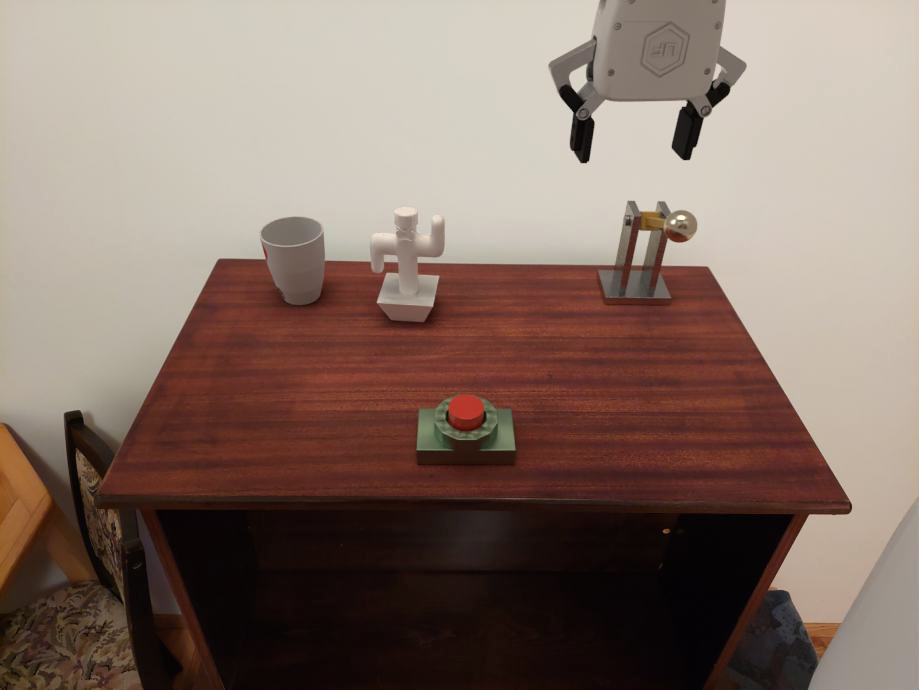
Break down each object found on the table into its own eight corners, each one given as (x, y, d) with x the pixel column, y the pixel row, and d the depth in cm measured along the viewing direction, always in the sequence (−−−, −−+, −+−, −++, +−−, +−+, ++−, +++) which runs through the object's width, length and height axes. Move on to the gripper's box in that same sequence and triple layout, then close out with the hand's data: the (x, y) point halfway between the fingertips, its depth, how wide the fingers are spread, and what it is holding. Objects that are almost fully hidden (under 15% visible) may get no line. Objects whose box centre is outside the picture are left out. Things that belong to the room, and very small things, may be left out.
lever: (700, 244, 71) (704, 210, 70) (667, 243, 71) (670, 210, 70) (656, 234, 86) (658, 206, 86) (629, 233, 86) (631, 206, 86)
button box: (510, 421, 71) (512, 394, 68) (514, 466, 66) (517, 439, 63) (419, 420, 71) (418, 394, 68) (416, 466, 66) (415, 439, 63)
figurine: (380, 294, 90) (372, 194, 80) (447, 298, 89) (447, 198, 80) (370, 325, 84) (360, 222, 75) (441, 330, 84) (441, 226, 74)
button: (482, 406, 67) (483, 394, 66) (484, 431, 65) (484, 419, 64) (448, 406, 67) (448, 394, 66) (448, 431, 65) (448, 419, 63)
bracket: (669, 305, 89) (691, 221, 81) (604, 304, 89) (620, 220, 81) (657, 277, 94) (677, 196, 86) (596, 276, 94) (610, 195, 86)
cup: (286, 276, 93) (275, 213, 87) (340, 282, 92) (332, 219, 86) (262, 307, 87) (248, 242, 81) (319, 315, 86) (309, 249, 80)
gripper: (573, -49, 46) (549, 176, 57) (802, -49, 48) (735, 170, 58) (551, -64, 52) (532, 143, 63) (755, -63, 53) (703, 138, 64)
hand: (630, 156), depth 61 cm, fingers open, 9 cm apart
